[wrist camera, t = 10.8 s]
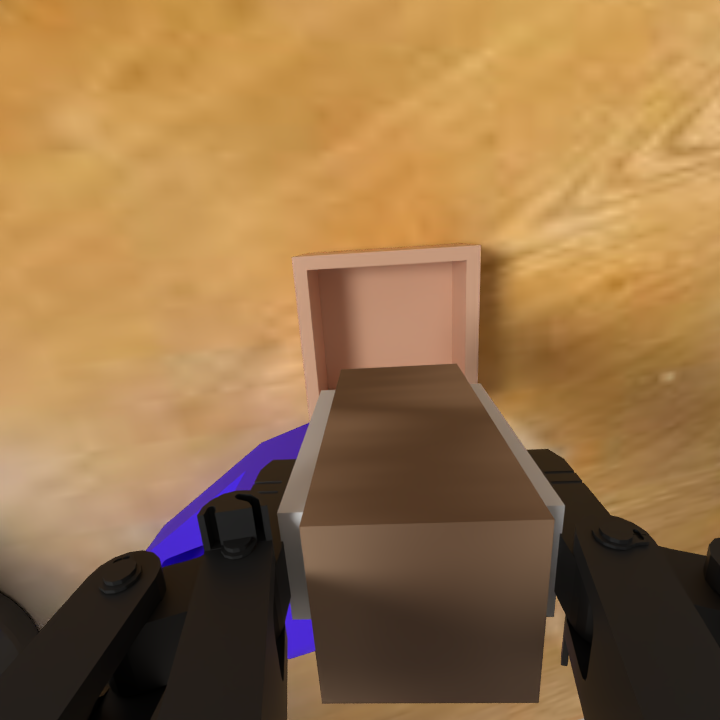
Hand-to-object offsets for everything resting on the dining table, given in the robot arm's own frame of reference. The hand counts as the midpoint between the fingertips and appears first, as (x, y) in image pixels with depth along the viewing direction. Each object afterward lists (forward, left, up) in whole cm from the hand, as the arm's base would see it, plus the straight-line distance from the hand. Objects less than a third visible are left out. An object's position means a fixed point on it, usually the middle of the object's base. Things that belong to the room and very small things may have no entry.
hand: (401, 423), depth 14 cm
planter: (0, 0, -17) cm, 17 cm away
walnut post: (0, 0, 0) cm, 0 cm away
